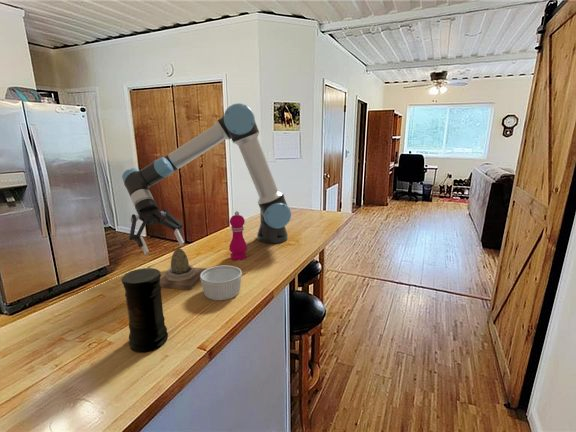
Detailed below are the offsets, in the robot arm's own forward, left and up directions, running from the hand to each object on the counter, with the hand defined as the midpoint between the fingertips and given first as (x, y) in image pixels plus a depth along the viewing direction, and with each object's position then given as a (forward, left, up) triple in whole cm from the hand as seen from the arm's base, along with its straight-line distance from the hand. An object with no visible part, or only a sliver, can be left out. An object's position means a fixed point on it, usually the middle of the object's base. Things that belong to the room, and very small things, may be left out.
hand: (165, 248), depth 117 cm
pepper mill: (-23, -17, -9) cm, 30 cm away
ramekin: (-27, +13, -9) cm, 31 cm away
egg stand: (-9, +6, -9) cm, 14 cm away
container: (-17, +40, -9) cm, 45 cm away
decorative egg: (-8, +6, -7) cm, 13 cm away
